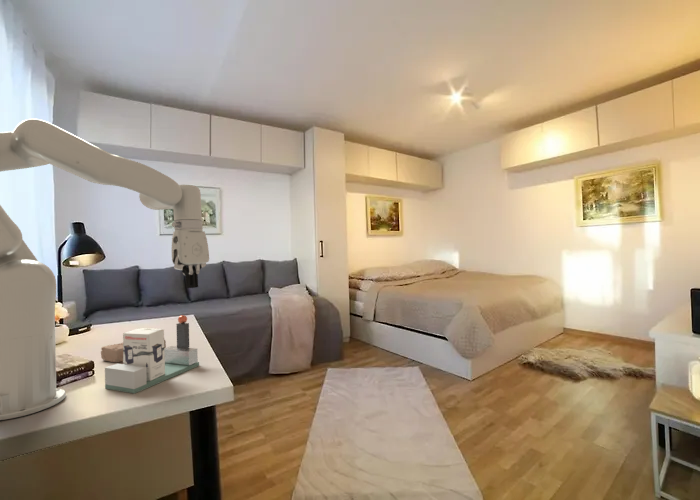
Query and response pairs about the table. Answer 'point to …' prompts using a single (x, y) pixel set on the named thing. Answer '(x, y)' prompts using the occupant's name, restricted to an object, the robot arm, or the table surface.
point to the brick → (114, 352)
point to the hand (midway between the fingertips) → (192, 287)
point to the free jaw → (181, 346)
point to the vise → (138, 376)
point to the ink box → (145, 351)
